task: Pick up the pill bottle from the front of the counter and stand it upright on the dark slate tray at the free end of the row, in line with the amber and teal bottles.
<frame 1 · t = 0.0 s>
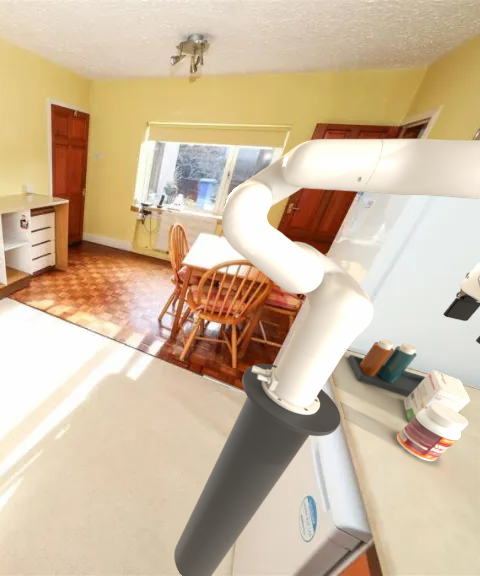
hand: (470, 330, 49), 29 cm above the countertop, tool pointing down, fingers open, 9 cm apart
teal bottle: (384, 379, 79), resting on tray
pill bottle: (414, 448, 60), on the countertop
ink box: (418, 417, 67), on the countertop
tray: (392, 381, 78), on the countertop
amber bottle: (364, 372, 80), resting on tray
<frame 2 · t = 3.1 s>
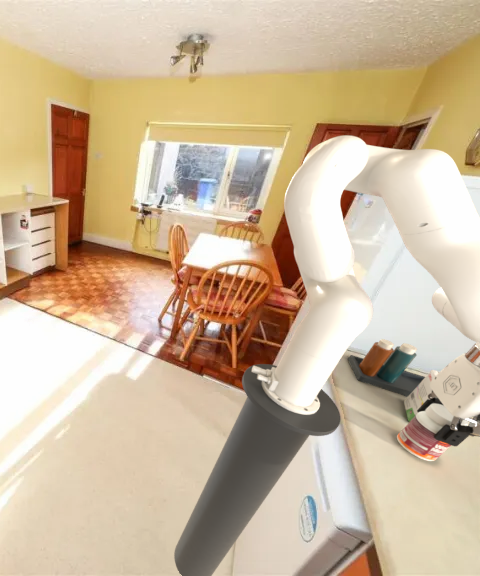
hand: (435, 427, 56), 7 cm above the countertop, tool pointing down, fingers closed on pill bottle, 6 cm apart
pill bottle: (414, 448, 60), on the countertop, touching gripper
everything else where it was.
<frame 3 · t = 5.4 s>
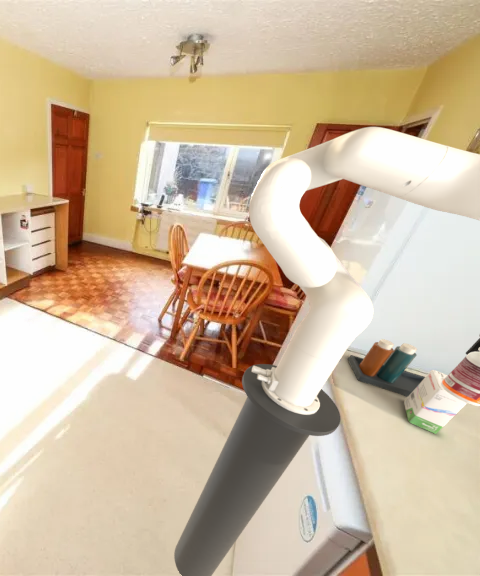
pill bottle: (461, 395, 53), point 16 cm above the countertop, touching gripper
everything else where it was.
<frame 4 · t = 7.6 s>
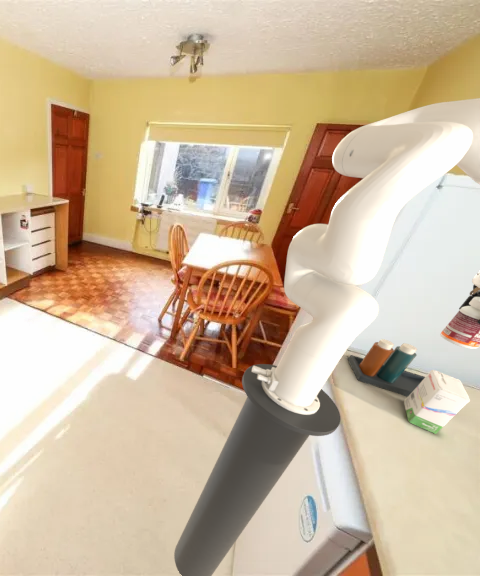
hand: (477, 317, 63), 25 cm above the countertop, tool pointing down, fingers closed on pill bottle, 6 cm apart
pill bottle: (456, 342, 66), point 18 cm above the countertop, touching gripper
everything else where it was.
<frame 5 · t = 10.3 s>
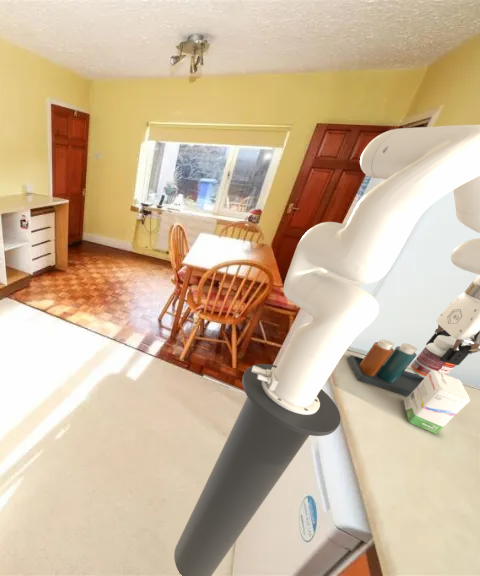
hand: (441, 354, 70), 12 cm above the countertop, tool pointing down, fingers closed on pill bottle, 6 cm apart
pill bottle: (424, 374, 74), point 5 cm above the countertop, touching gripper
everything else where it was.
when the fingers open (8 cm above the countertop, at t = 12.1 s): pill bottle stays where it is, resting on tray.
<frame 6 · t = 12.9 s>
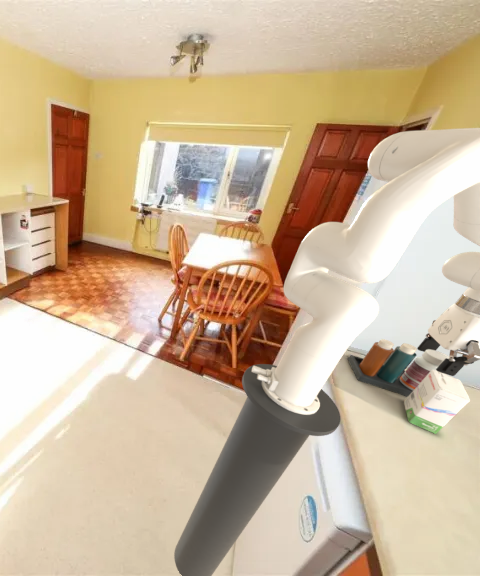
hand: (433, 361, 72), 10 cm above the countertop, tool pointing down, fingers open, 9 cm apart
pill bottle: (413, 386, 76), resting on tray
everything else where it was.
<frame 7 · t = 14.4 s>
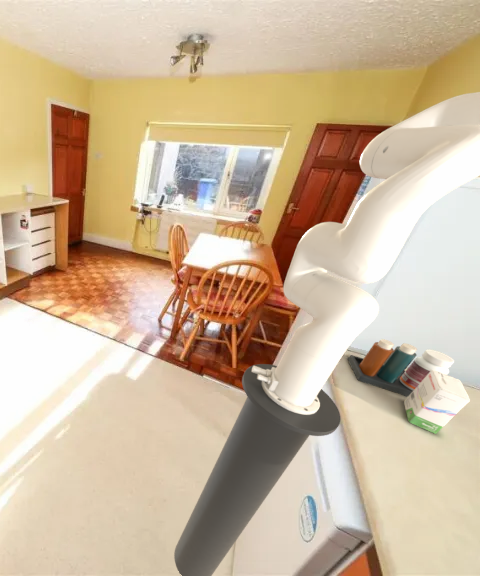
nothing on the countertop moved.
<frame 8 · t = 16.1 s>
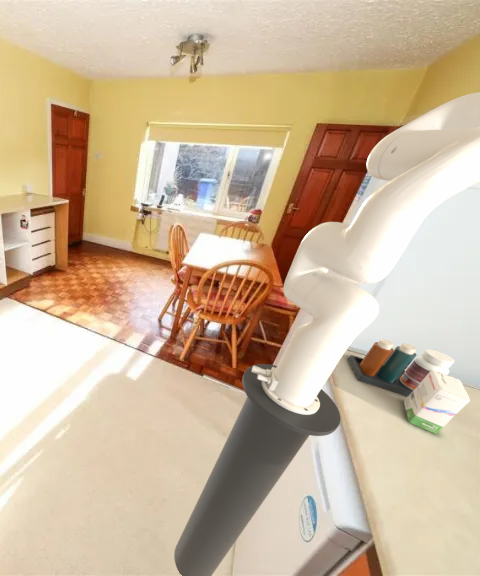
nothing on the countertop moved.
at the end: pill bottle 0.0 cm from the target spot in the tray, point 0.4 cm above the tray's base; pill bottle tilted 0°; the gripper is holding nothing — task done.
